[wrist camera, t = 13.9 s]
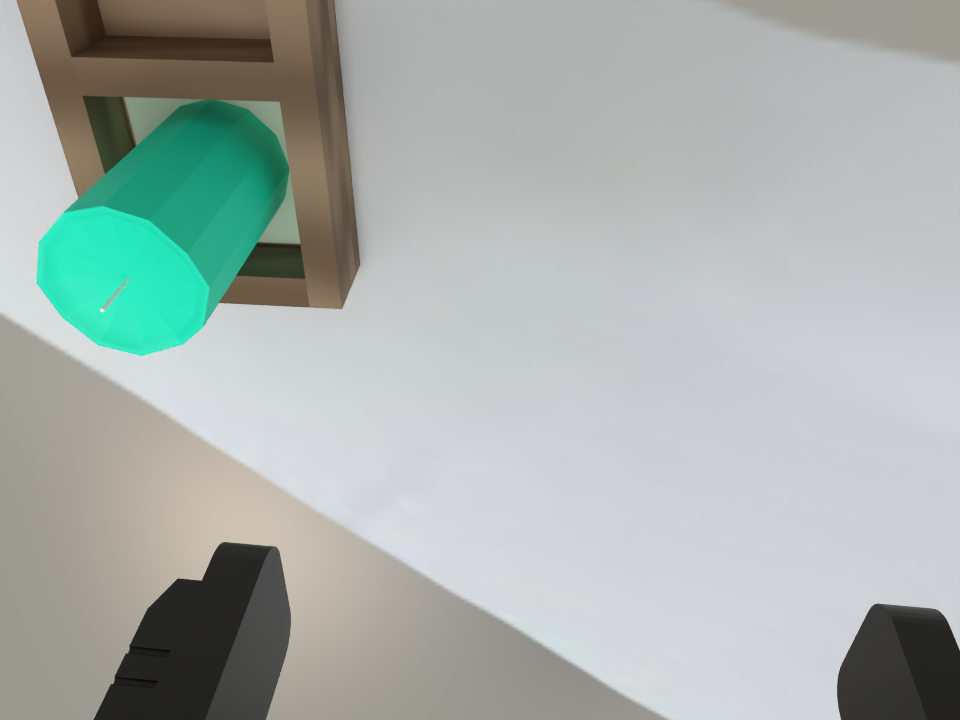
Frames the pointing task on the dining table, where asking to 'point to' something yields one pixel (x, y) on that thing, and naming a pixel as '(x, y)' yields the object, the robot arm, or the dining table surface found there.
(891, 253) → the dining table surface
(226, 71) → the slot rack
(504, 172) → the dining table surface
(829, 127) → the dining table surface
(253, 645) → the robot arm
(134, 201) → the candle
